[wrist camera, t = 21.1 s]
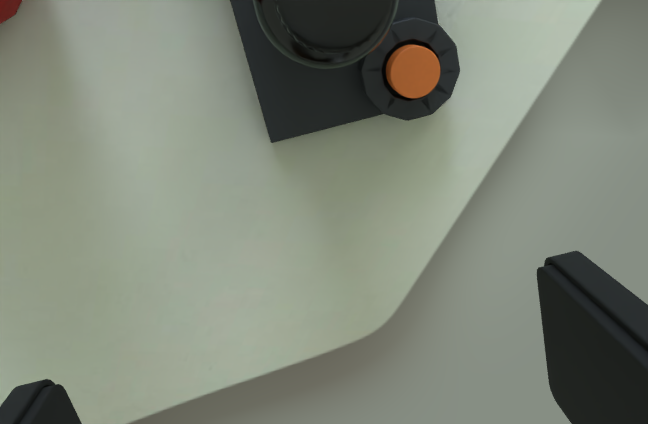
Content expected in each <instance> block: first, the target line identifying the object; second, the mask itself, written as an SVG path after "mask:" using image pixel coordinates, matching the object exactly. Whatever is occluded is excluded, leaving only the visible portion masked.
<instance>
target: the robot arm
mask: <svg viewBox="0 0 648 424" xmlns="http://www.w3.org/2000/svg"><path fill="white" fill-rule="evenodd" d="M537 281H538V290H539V299H540V308H541V316H542V325H543V334H544V343H545V352H546V361H547V370H548V379H549V385H550V389H551V392H552V394H553V397H554V399H555V401H556V402H557V404H558V405H559V407H560V408H561V409H562V411H563V412H564V414H565V415H566V416H567V418H568V419H569V421H570V422H571V423H572V424H648V305H647V304H646V303H644V302H643V301H642V300H641V299H639V298H638V297H637V296H635V295H634V294H633V293H632V292H630V291H629V290H628V289H626V288H625V287H624V286H623V285H621V284H620V283H619V282H618V281H616V280H615V279H614V278H612V277H611V276H610V275H609V274H607V273H606V272H605V271H603V270H602V269H601V268H600V267H598V266H597V265H596V264H594V263H593V262H592V261H591V260H589V259H588V258H587V257H586V256H584V255H583V254H582V253H580V252H578V251H573V252H569V253H565V254H561V255H557V256H553V257H548V258H546V260H545V264H544V267H539V268H538V269H537ZM0 424H82V423H81V421H80V419H79V417H78V415H77V413H76V411H75V409H74V407H73V405H72V403H71V401H70V399H69V397H68V394H67V392H66V390H65V389H64V387H63V386H61V385H59V384H57V385H55V383H54V382H52V381H51V380H48V379H45V380H41V381H37V382H33V383H29V384H25V385H21V386H17V387H15V388H14V389H13V390H12V392H11V393H10V394H9V396H8V397H7V398H6V400H5V401H4V402H3V404H2V405H1V406H0Z"/></svg>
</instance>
